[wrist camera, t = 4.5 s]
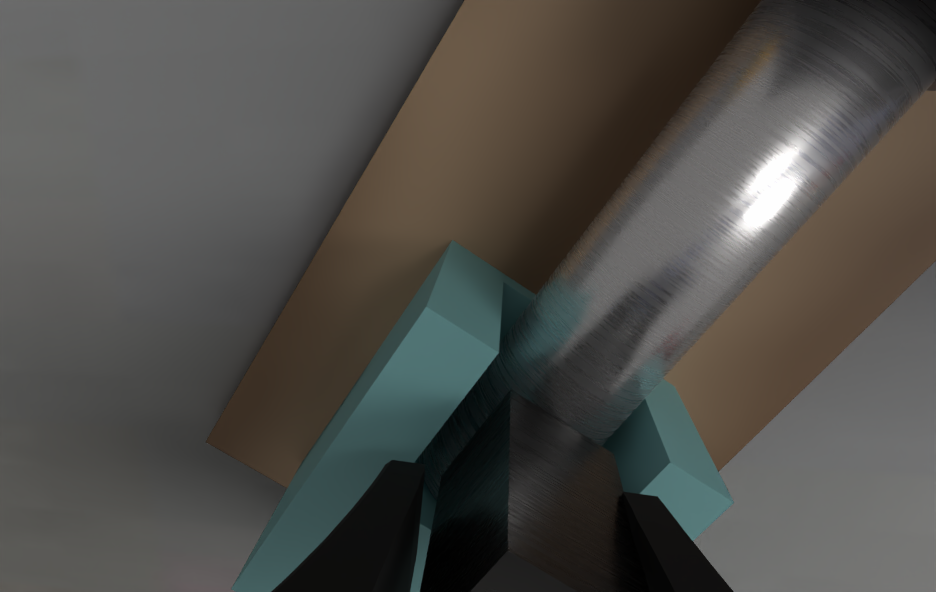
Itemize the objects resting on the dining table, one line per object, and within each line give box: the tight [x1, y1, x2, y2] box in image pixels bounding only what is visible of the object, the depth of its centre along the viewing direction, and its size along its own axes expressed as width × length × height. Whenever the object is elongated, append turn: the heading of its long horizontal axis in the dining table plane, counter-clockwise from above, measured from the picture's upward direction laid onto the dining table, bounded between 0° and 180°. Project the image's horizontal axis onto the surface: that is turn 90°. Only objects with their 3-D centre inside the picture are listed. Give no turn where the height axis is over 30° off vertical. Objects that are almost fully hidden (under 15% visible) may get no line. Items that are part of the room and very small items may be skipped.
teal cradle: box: [232, 240, 734, 592], centre depth 14 cm, size 7×8×4 cm
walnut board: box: [206, 0, 936, 488], centre depth 13 cm, size 12×31×1 cm, turn 147°
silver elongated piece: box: [419, 0, 936, 592], centre depth 9 cm, size 3×14×7 cm, turn 147°
